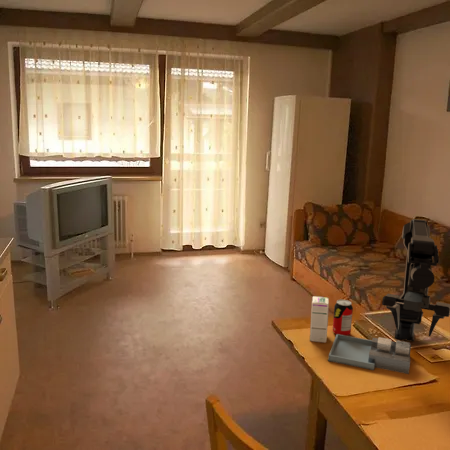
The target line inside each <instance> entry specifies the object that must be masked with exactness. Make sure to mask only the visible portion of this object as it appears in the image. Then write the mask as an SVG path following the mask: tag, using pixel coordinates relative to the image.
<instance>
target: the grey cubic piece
mask: <svg viewBox="0 0 450 450" xmlns="http://www.w3.org/2000/svg"><path fill="white" fill-rule="evenodd" d="M395 342H396V349H395V355H399V356H404V357H409V349H410V345H411V342H409V341H408V342H407V341H403V340H395Z"/></svg>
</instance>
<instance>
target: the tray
mask: <svg viewBox="0 0 450 450" xmlns="http://www.w3.org/2000/svg"><path fill="white" fill-rule="evenodd" d="M371 344H372V340H371V339H366V338H361V337H355V336H350V335H347V336H346V335H340V334H335V338H334V340H333V343H332V346H331V349H330V351H329V353H328V357H327V358H328V360H327V361H328V362H332V363H336V364H340V365H341V364H342V365H345V366H346V365H347V366H351V367H356V368H360V369H361V368H362V369H366V370H371V371H375V368H376V367H375V366H374V365H375V364H374V363H369V362H368V359H369V352H370V350H371Z"/></svg>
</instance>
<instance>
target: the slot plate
mask: <svg viewBox="0 0 450 450" xmlns="http://www.w3.org/2000/svg"><path fill="white" fill-rule="evenodd" d="M377 343H378V338H377V337H372V344H371V350H370V352H369V359H368V362H369V363H374V364H375V365H374V366H375V367H374V368H377V369H380V370H381V369H382V370H386V371H391V372H396V373H402V374H405V375H410V374H409V373H410V367H411V352H412V351H411V350H412V349H411V348H412V344H410V349H409V357H404V356H399V355H395V349H396V341H393V340H391V349H390V354H388V353H383V352H378V351H377Z"/></svg>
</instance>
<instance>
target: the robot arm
mask: <svg viewBox="0 0 450 450" xmlns="http://www.w3.org/2000/svg"><path fill="white" fill-rule="evenodd" d="M430 231H431V230H430V226H429V225H428V220H426V219H415V218H413V219H411V220H410V222H408V223H406V224H404V225H403V227H402V233H401V239H402V240H403V242H402V243H403V245H404V248H405V250H406V262H405V272H404V281H403V282H404V283H403V293H402V294H401V295H398V294H392V293H387V294H386V295H384V296H383V297H382V301H381V302H382V304H381V305H382V306H386V309H388V310H389V311H390V312H391V315H392V318H393V322H394V325H395V330H394V339H397V340H402V341H404V340H405V341H408V342H415V325H420V324H421V323H422V319H423V315H424V311H423V310H427V311H431V312H434V313H433V314H432V319H431V323H430V326H429V331H428V337H431V335H432V334H433V332H434V329H435V328H436V325H437V324H438V322H439V320H440V319H442V320H444V318H445V317H446V318H449V317H450V303H446V302H440V301H437V302H436V303H435V304H432V303H431V295H429V288H430V287H432V285H433V283H434V282H435V275H434V273H433V271H432V267H431V266H434V267H437V265H438V264H439V260H440V258H439V249H438V246H437V244H436V243H435V241H434V239H433V238H431V237H430Z"/></svg>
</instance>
